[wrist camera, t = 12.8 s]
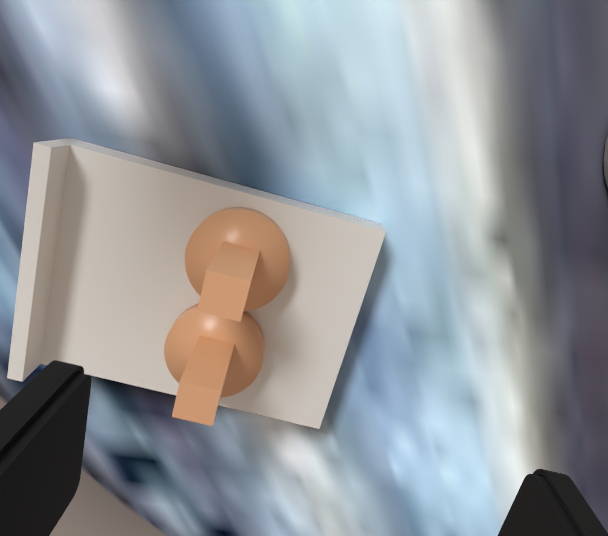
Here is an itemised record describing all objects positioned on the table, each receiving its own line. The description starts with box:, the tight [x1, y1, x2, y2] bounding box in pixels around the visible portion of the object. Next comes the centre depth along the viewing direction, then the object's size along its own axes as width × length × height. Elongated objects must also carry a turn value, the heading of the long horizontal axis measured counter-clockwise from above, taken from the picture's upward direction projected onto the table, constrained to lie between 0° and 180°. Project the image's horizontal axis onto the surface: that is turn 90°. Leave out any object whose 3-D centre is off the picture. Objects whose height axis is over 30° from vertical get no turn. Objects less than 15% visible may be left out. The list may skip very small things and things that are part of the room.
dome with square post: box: [164, 303, 265, 426], centre depth 33 cm, size 7×7×10 cm
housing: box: [7, 138, 386, 429], centre depth 32 cm, size 22×16×10 cm
